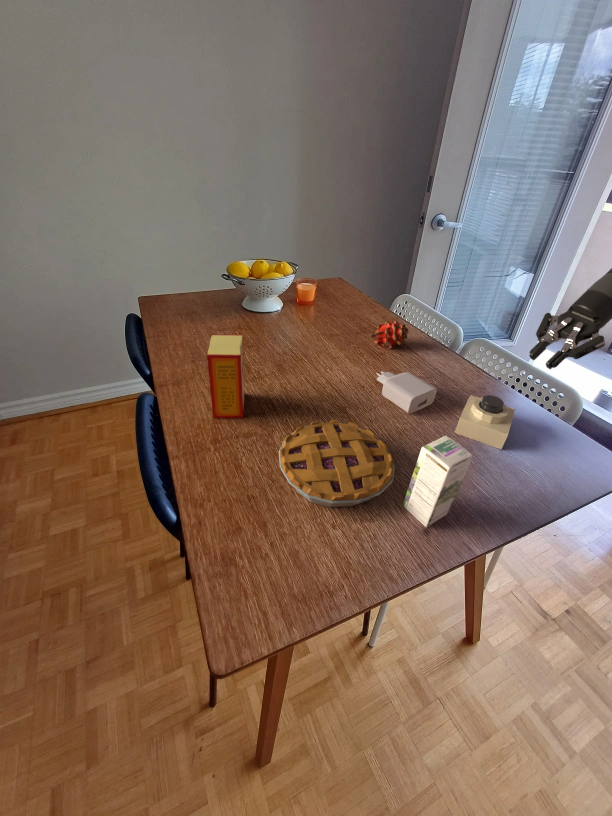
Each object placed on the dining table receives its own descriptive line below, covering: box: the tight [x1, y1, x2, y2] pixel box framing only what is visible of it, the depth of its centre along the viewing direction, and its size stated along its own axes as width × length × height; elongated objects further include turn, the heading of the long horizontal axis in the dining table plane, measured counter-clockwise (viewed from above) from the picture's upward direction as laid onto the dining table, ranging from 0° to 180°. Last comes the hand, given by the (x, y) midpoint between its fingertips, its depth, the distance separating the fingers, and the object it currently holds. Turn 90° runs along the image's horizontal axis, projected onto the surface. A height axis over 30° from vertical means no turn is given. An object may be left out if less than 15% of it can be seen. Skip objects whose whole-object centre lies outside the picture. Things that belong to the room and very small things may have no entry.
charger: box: [375, 370, 438, 415], centre depth 99 cm, size 5×9×15 cm
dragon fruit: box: [371, 319, 409, 350], centre depth 120 cm, size 8×8×12 cm
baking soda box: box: [206, 334, 245, 419], centre depth 87 cm, size 10×6×16 cm
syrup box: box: [402, 435, 474, 528], centre depth 66 cm, size 6×6×14 cm
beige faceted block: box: [454, 394, 516, 450], centre depth 89 cm, size 10×11×6 cm
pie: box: [278, 419, 396, 508], centre depth 75 cm, size 22×22×5 cm
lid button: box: [480, 394, 505, 414], centre depth 87 cm, size 4×4×2 cm
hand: (539, 361), depth 85 cm, fingers open, 3 cm apart
